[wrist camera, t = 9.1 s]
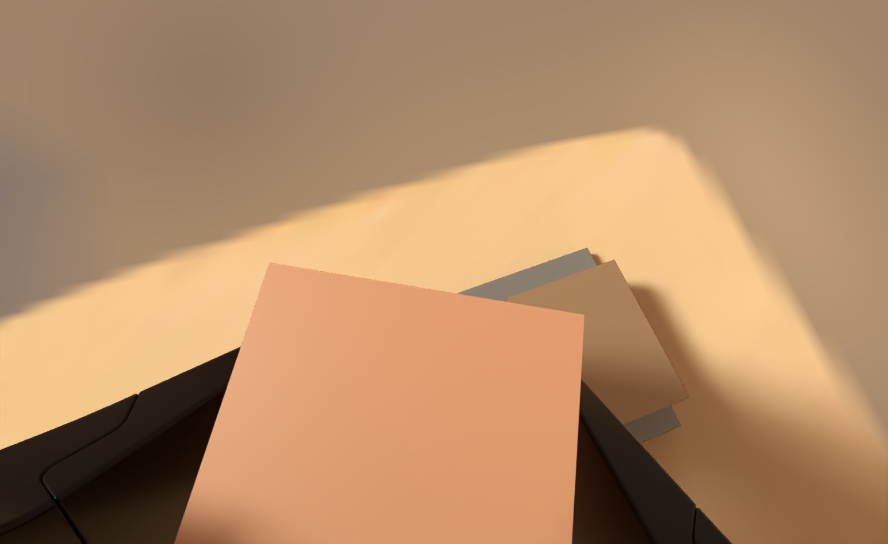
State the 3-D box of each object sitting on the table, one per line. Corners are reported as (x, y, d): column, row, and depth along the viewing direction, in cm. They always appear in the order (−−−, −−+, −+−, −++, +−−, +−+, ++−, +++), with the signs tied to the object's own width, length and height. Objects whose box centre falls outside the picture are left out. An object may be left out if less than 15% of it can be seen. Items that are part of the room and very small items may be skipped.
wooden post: (474, 469, 15) (559, 761, 3) (372, 448, 15) (135, 654, 4) (488, 361, 16) (584, 314, 5) (394, 344, 17) (269, 262, 5)
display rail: (239, 602, 14) (180, 663, 11) (208, 384, 17) (154, 384, 14) (670, 424, 16) (723, 432, 13) (581, 253, 19) (608, 226, 16)
